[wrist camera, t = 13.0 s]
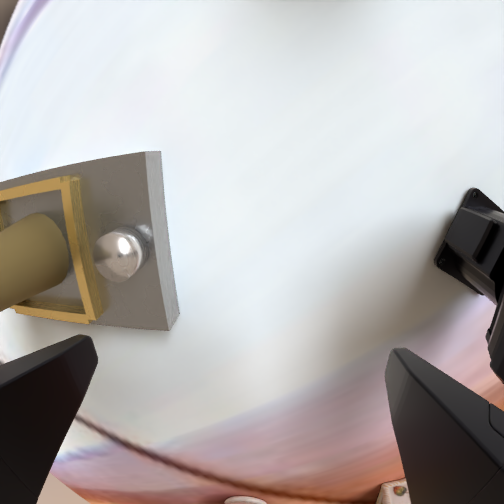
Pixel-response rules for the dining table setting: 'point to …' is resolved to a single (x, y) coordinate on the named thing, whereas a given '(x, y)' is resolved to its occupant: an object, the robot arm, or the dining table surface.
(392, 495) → the decorative jar
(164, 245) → the grey base with knob
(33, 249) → the cork
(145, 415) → the dining table surface
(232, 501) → the flower vase
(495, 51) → the dining table surface
